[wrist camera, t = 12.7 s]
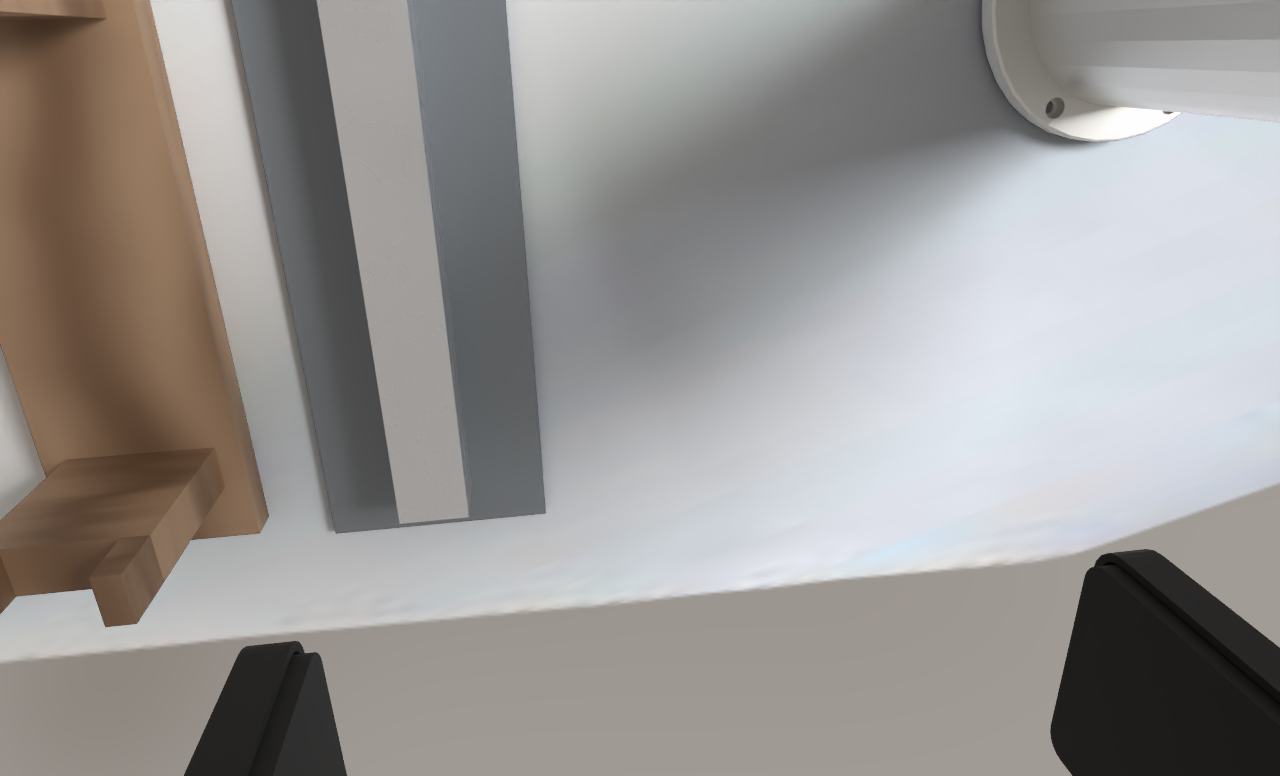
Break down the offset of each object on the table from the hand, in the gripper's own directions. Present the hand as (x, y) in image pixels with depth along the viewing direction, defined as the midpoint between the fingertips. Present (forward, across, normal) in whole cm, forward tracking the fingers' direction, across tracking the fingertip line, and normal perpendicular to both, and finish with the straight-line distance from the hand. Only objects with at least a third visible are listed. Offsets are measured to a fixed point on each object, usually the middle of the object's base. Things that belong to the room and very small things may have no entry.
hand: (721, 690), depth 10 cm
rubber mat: (+28, +7, 0) cm, 29 cm away
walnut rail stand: (+28, +19, 0) cm, 34 cm away
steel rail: (+28, +7, 0) cm, 29 cm away
